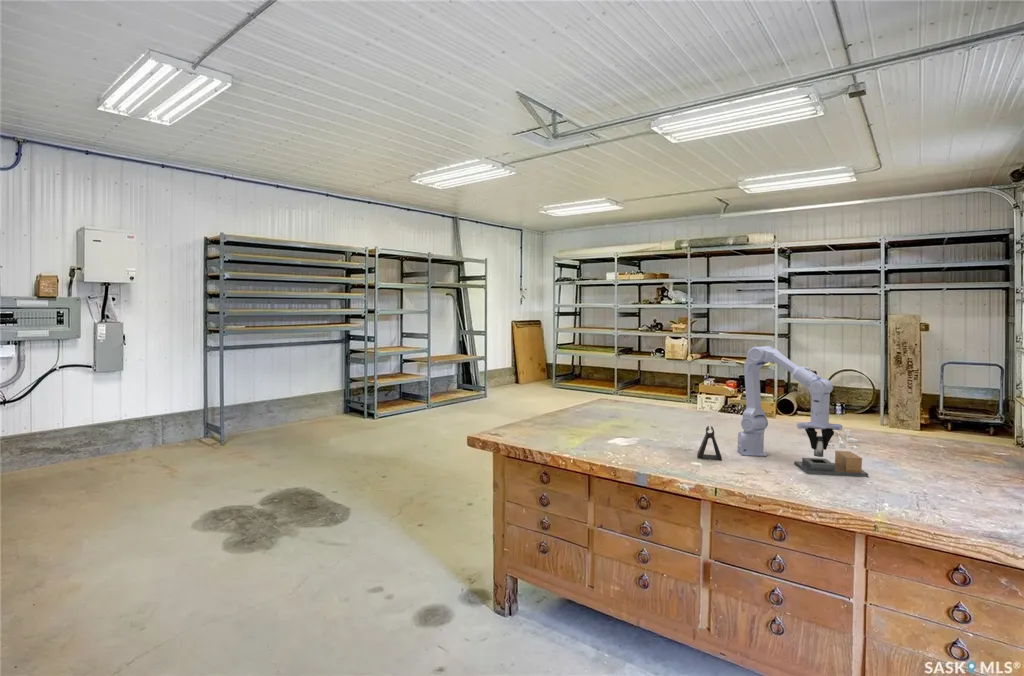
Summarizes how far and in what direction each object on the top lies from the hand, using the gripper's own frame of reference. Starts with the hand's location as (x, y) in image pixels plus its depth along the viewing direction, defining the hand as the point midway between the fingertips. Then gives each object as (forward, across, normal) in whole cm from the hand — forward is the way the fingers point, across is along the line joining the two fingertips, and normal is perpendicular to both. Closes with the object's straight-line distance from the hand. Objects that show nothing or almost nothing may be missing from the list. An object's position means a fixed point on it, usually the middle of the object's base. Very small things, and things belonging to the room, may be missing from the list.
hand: (818, 448), depth 191 cm
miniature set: (+8, +27, +48) cm, 56 cm away
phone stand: (+8, -36, +10) cm, 38 cm away
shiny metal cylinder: (+3, 0, 0) cm, 3 cm away
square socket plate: (+8, +4, 0) cm, 9 cm away
